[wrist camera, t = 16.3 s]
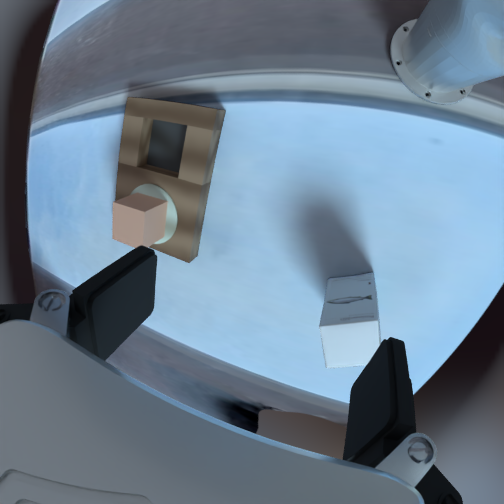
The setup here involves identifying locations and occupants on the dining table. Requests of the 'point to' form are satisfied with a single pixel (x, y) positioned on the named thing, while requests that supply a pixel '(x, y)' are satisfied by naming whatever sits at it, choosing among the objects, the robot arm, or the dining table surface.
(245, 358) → the dining table surface
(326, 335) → the supplement box
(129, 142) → the hole platform
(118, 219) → the block
